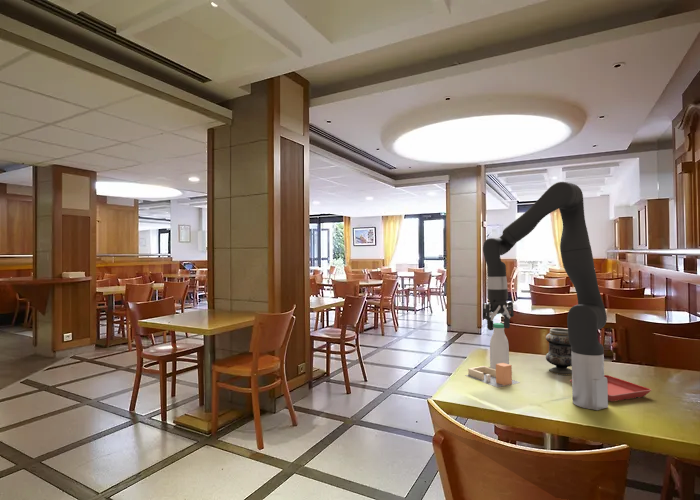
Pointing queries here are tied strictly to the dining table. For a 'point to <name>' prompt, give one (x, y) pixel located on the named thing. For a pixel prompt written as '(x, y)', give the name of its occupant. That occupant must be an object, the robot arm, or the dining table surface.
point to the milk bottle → (498, 346)
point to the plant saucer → (623, 389)
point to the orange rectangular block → (503, 373)
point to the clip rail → (486, 375)
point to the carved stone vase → (559, 351)
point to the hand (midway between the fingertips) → (498, 329)
